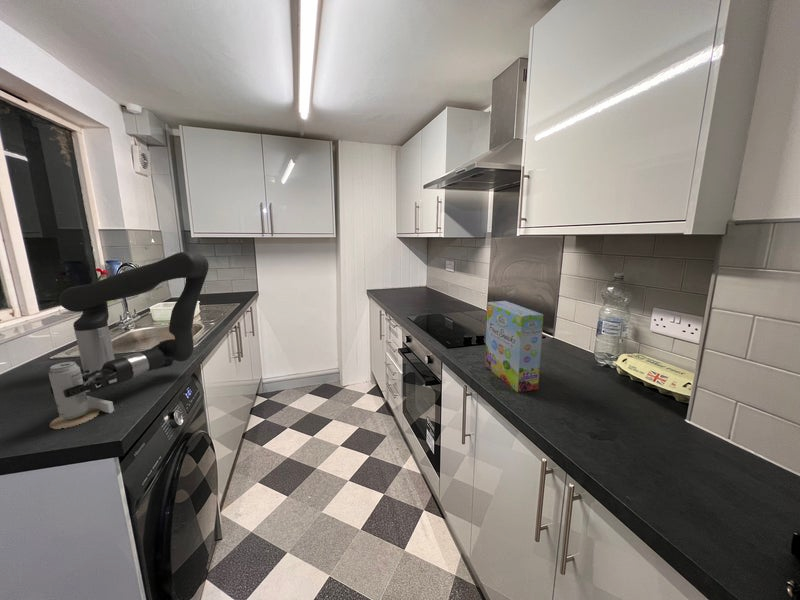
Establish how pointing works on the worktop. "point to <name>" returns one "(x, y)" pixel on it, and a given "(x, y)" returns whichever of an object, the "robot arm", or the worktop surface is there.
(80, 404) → the energy drink can
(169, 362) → the hand grenade
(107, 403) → the white rectangular bar
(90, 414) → the cork coaster
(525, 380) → the snack box
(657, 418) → the worktop surface
